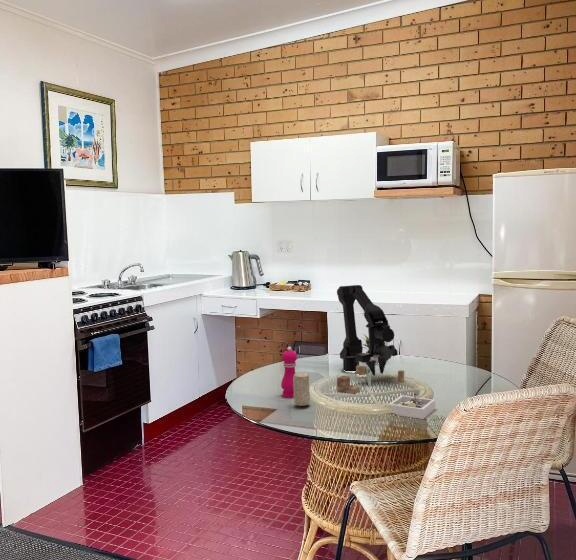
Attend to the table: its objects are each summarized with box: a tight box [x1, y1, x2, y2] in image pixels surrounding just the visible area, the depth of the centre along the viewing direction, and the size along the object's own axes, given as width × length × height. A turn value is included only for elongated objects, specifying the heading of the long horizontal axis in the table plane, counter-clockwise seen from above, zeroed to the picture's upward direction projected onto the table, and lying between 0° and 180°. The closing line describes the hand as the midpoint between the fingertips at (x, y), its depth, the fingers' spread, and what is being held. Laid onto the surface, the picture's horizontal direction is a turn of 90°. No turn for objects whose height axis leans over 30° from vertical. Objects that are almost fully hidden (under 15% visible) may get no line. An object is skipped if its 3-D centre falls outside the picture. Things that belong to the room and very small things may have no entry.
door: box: [366, 365, 372, 387], centre depth 263 cm, size 14×1×6 cm, turn 177°
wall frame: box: [355, 365, 405, 383], centre depth 267 cm, size 22×2×6 cm, turn 58°
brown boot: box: [336, 375, 361, 395], centre depth 251 cm, size 8×4×6 cm, turn 55°
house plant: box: [362, 333, 379, 365], centre depth 296 cm, size 14×14×16 cm
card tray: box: [387, 394, 436, 420], centre depth 224 cm, size 13×13×4 cm
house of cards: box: [410, 390, 425, 408], centre depth 226 cm, size 9×9×8 cm
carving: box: [293, 372, 311, 407], centre depth 234 cm, size 6×8×12 cm
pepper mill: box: [280, 346, 298, 399], centre depth 247 cm, size 7×7×20 cm
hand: (377, 374), depth 263 cm, fingers open, 4 cm apart
